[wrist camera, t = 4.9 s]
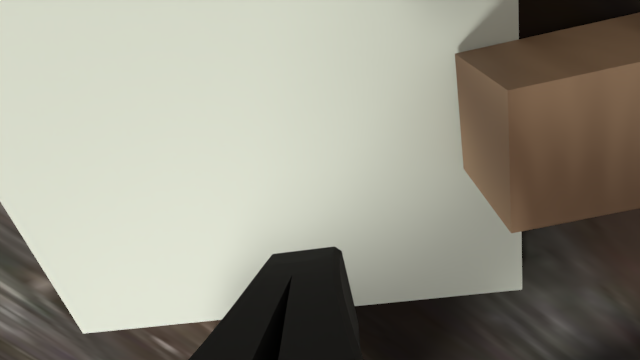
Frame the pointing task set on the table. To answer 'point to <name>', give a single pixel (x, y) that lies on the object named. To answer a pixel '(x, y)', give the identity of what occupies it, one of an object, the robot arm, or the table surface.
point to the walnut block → (554, 123)
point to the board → (244, 149)
